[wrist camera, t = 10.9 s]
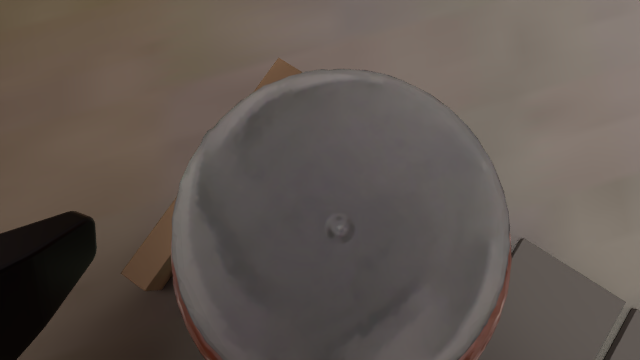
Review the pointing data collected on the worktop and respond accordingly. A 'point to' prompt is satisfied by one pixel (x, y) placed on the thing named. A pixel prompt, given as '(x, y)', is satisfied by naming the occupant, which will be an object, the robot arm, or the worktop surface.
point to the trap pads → (558, 314)
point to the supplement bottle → (340, 227)
